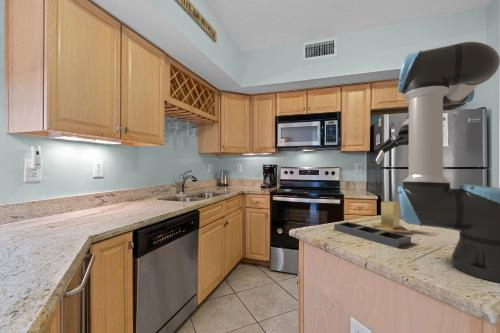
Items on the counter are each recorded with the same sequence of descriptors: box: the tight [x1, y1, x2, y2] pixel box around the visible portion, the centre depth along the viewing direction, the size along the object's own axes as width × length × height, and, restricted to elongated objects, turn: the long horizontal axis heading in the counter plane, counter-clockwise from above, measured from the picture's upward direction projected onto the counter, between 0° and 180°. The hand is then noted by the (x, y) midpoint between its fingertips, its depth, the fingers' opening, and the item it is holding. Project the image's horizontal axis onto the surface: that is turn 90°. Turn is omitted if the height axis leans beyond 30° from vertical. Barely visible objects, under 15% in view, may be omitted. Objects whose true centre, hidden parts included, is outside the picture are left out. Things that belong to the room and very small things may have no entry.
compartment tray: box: [333, 221, 412, 249], centre depth 94 cm, size 26×9×3 cm, turn 32°
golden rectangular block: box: [380, 200, 401, 230], centre depth 102 cm, size 5×5×11 cm
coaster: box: [370, 223, 413, 236], centre depth 102 cm, size 12×12×2 cm
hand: (392, 162), depth 103 cm, fingers open, 13 cm apart
